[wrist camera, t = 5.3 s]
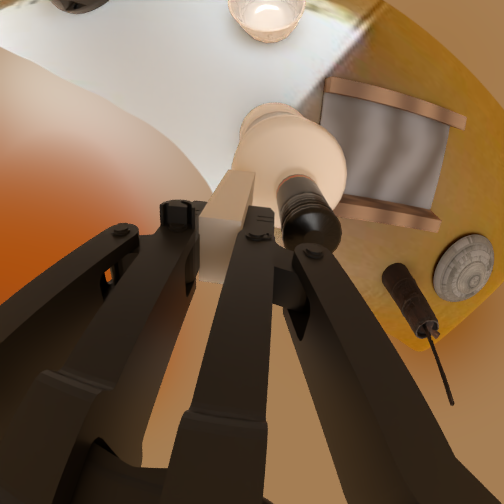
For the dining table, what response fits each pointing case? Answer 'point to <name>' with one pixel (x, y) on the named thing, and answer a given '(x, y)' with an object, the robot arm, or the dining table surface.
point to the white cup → (267, 17)
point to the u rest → (387, 152)
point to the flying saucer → (464, 268)
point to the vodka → (294, 173)
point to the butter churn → (414, 309)
